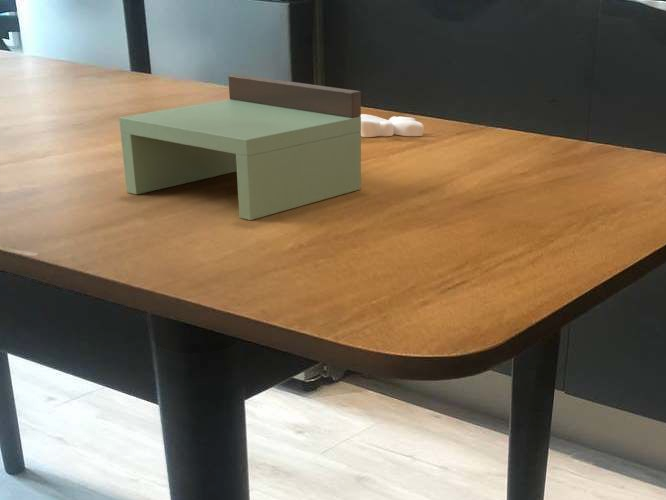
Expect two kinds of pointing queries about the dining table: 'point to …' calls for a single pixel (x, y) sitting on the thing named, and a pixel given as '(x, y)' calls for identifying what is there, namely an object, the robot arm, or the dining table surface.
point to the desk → (252, 144)
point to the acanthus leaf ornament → (389, 126)
